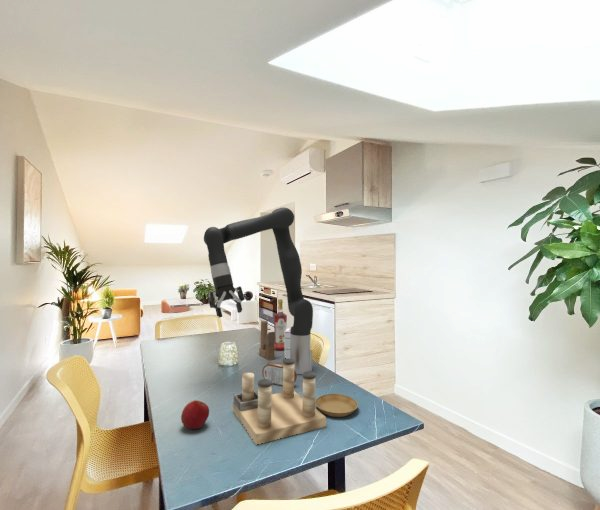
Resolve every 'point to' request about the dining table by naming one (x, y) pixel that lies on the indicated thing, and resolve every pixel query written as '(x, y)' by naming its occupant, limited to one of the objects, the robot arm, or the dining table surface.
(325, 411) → the plant saucer
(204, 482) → the dining table surface
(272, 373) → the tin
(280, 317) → the liquor
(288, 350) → the syrup box
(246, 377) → the birch leg
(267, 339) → the wooden block
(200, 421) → the apple
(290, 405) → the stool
